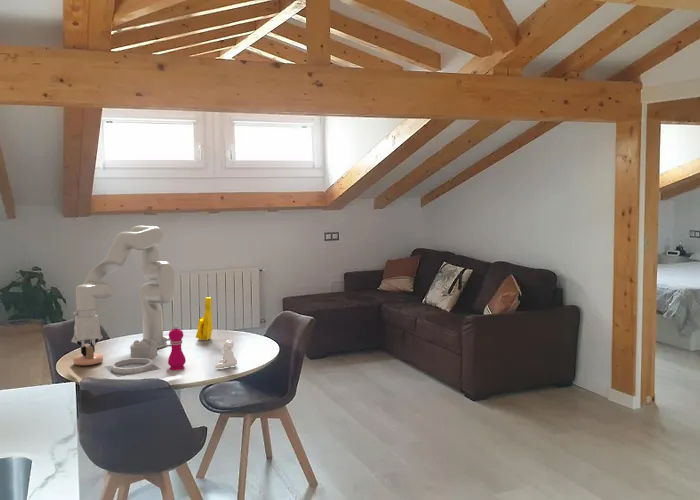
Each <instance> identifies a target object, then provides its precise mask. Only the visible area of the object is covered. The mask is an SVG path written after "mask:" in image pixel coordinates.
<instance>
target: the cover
mask: <svg viewBox="0 0 700 500" xmlns="http://www.w3.org/2000/svg"><path fill="white" fill-rule="evenodd" d="M90 344H91V343H84V345H85V347H86V356H84V355H83V354H78V355H76V356H73V357H72V360H73V361H72V363H73V365H77V366H91V365H95V364H96V365H97V364H99V363H102V362H104V355H103V354H102V353H96V352H94V351H93V347H92V346H91V345H90Z"/></svg>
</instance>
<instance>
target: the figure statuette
mask: <svg viewBox="0 0 700 500" xmlns="http://www.w3.org/2000/svg"><path fill="white" fill-rule="evenodd" d="M204 299H205V300H204V314H203V316H202V317H200V318H199V319H198V320H197V321H198V322H197V331H196V335H195V338H196V339H198V341H209V340H210V339H211V338H212V333H213V327H214V326H213V320H212V319H213V317H212V316H213V313H212V304H213V303H212V302H213V301H212V300H213V299H212V297H210V296H209V297H208V296H207V297H205V298H204ZM208 339H209V340H208Z"/></svg>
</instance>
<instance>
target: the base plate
mask: <svg viewBox="0 0 700 500" xmlns="http://www.w3.org/2000/svg"><path fill="white" fill-rule="evenodd" d="M104 369H106V370H108V371H109V372H110V373H112V374H113V375H115V377H117V378H119V377H125V376H129V375H131V376H132V375H135V374H141V373H145V372H146V373H147V372H152V371H156V370H161V368H160V367H158V365H155V364H154V360H153V359H147V358H131V357H129V358H123V359H119V360H116V361H114V362H112V363H111V364H110V365H107V366H104Z"/></svg>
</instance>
